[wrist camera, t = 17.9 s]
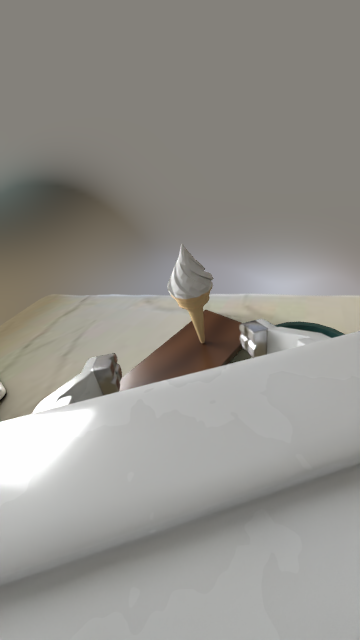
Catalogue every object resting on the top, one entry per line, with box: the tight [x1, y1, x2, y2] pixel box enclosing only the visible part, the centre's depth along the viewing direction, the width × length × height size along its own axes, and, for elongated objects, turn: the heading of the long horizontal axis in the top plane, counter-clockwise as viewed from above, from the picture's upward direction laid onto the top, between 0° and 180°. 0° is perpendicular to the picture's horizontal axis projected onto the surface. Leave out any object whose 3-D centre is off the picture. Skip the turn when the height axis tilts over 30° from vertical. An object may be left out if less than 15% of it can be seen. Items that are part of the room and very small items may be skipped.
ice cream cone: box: [168, 244, 213, 343], centre depth 24 cm, size 6×6×15 cm
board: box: [119, 310, 243, 391], centre depth 28 cm, size 10×20×1 cm, turn 134°
